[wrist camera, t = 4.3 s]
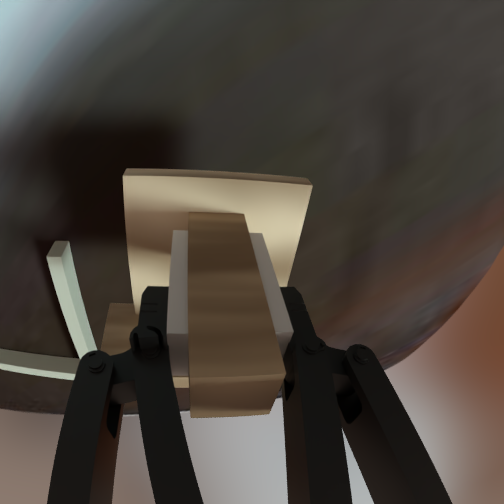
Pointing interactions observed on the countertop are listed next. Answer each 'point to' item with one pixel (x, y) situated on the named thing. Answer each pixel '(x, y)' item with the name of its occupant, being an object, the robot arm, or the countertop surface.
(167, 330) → the robot arm
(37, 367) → the sage frame
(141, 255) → the wooden scraper
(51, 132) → the countertop surface
